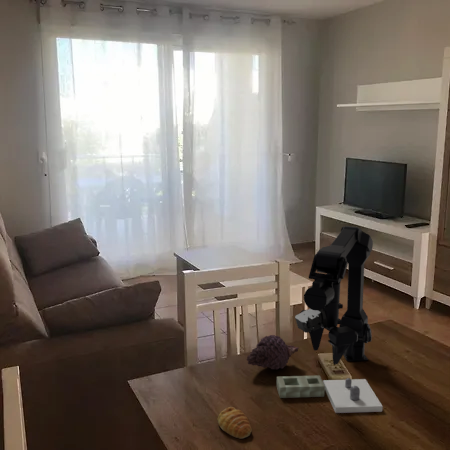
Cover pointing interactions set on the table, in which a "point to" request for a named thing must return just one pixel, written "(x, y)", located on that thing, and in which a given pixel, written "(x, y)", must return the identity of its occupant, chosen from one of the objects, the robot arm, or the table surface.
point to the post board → (344, 395)
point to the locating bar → (300, 386)
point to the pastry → (234, 423)
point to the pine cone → (271, 353)
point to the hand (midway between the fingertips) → (325, 357)
